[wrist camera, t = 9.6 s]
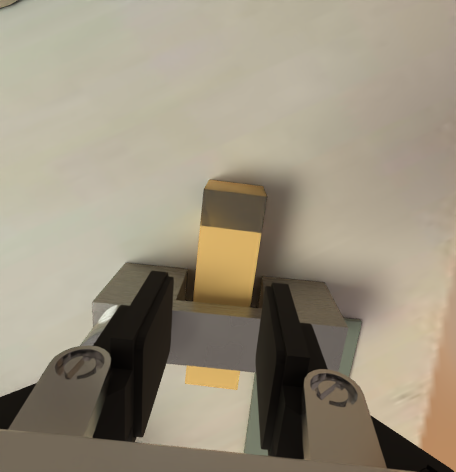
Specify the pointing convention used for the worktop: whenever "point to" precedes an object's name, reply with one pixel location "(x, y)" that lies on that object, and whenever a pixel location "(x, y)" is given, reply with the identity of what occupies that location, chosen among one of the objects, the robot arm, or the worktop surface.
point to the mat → (253, 423)
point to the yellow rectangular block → (227, 258)
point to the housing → (222, 320)
